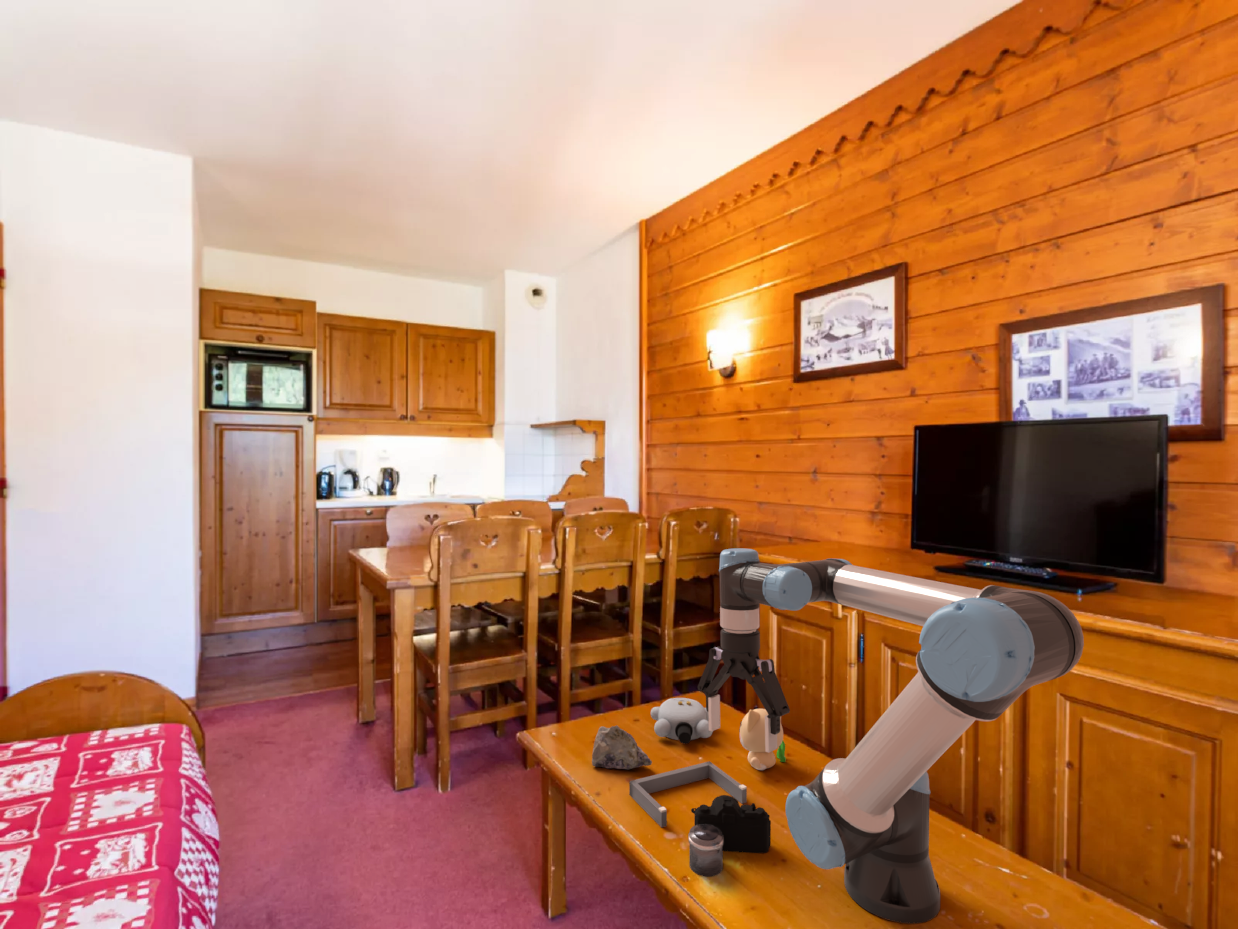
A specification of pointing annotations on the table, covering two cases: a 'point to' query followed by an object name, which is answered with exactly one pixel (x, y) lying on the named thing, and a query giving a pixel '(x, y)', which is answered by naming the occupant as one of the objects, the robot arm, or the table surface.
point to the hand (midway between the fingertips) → (741, 739)
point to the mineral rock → (617, 750)
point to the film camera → (737, 824)
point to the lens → (706, 850)
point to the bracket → (676, 778)
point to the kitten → (759, 740)
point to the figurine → (681, 720)
